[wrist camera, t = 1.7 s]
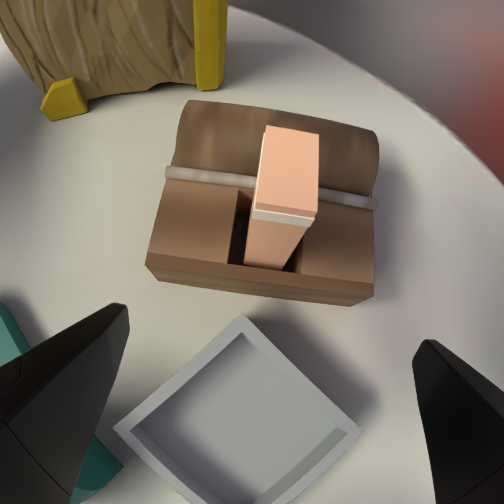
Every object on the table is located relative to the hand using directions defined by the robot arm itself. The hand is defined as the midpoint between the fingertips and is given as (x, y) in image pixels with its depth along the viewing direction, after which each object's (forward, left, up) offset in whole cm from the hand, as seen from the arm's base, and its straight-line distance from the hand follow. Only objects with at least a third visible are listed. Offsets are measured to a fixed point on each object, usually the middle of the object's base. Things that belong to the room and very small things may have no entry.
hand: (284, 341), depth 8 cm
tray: (-3, +5, -13) cm, 14 cm away
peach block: (+5, -5, -13) cm, 15 cm away
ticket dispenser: (+6, -8, -13) cm, 16 cm away
